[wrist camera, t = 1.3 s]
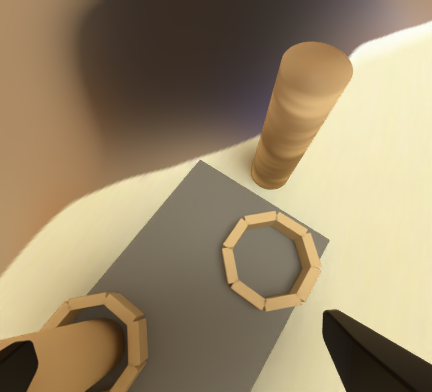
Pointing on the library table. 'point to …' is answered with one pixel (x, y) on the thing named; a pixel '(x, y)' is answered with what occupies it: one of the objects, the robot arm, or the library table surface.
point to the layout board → (185, 298)
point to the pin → (298, 108)
